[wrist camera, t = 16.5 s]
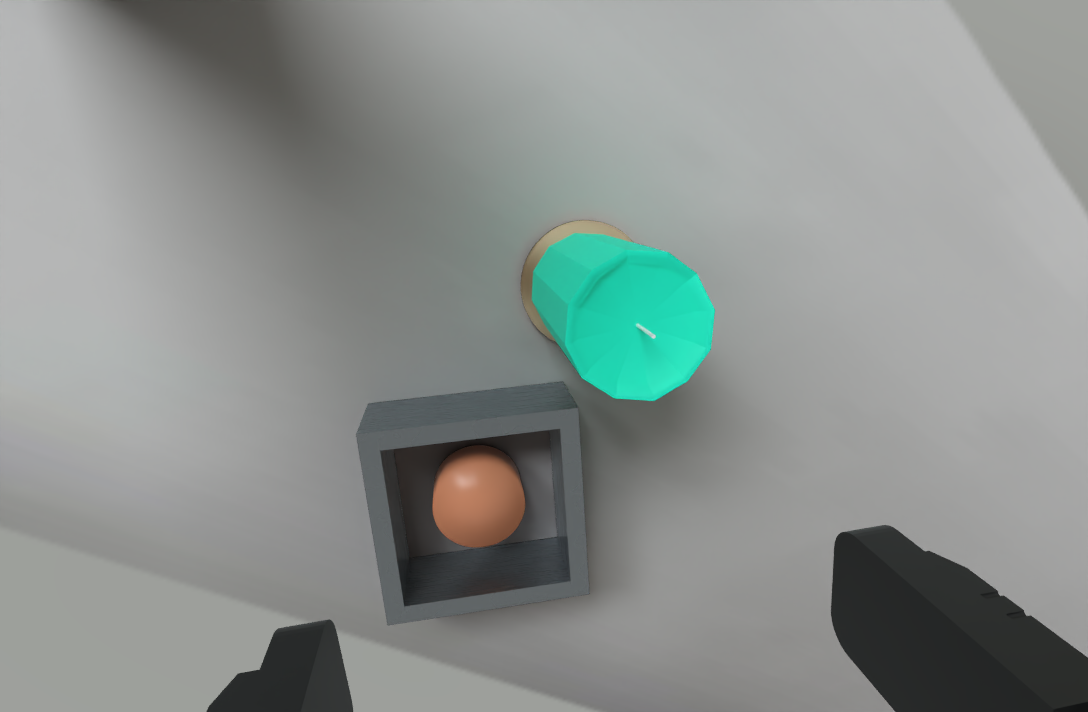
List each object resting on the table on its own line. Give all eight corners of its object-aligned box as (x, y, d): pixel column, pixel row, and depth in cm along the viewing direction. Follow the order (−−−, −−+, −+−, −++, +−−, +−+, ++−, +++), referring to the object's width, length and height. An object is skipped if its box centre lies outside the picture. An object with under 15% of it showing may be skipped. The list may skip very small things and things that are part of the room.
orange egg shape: (428, 451, 35) (427, 470, 32) (516, 440, 35) (521, 458, 33) (439, 529, 36) (438, 553, 34) (523, 517, 37) (528, 540, 34)
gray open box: (368, 403, 34) (356, 434, 30) (562, 381, 35) (578, 407, 31) (395, 575, 37) (387, 625, 33) (574, 548, 38) (589, 594, 34)
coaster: (515, 225, 33) (516, 226, 32) (642, 215, 34) (645, 215, 33) (525, 351, 35) (527, 354, 34) (645, 339, 36) (649, 341, 35)
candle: (645, 327, 35) (741, 393, 23) (542, 352, 34) (588, 432, 23) (628, 220, 33) (722, 235, 22) (519, 245, 33) (556, 273, 21)
